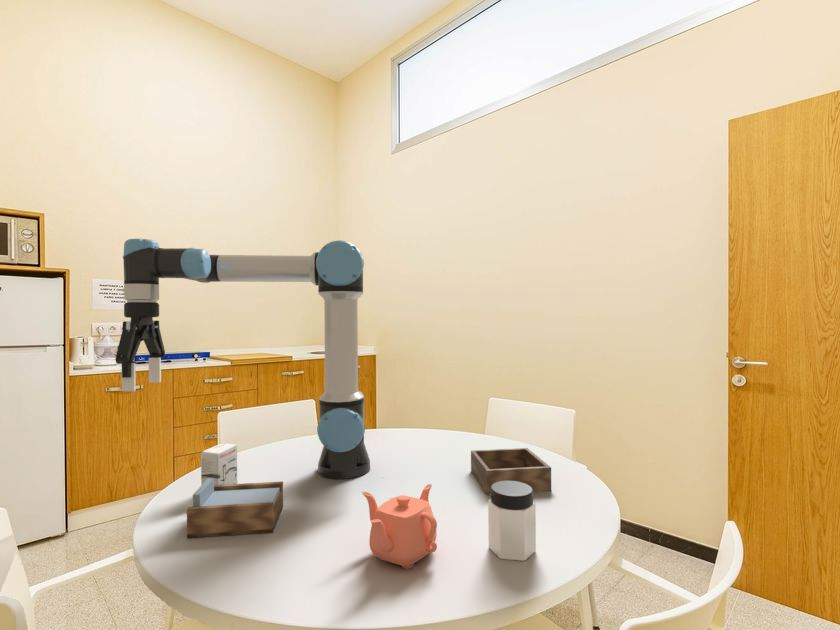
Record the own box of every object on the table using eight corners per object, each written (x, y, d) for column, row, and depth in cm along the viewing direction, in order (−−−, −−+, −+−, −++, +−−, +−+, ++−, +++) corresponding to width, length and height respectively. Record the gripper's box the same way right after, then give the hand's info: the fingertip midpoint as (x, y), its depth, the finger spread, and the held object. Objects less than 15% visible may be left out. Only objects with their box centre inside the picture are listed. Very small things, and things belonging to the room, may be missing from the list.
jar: (504, 534, 94) (504, 476, 94) (541, 547, 89) (541, 486, 89) (481, 551, 87) (481, 489, 87) (519, 567, 82) (519, 500, 82)
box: (283, 506, 108) (283, 481, 108) (272, 532, 95) (272, 504, 95) (208, 511, 106) (208, 485, 106) (187, 538, 93) (186, 509, 93)
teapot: (371, 582, 78) (370, 518, 78) (362, 541, 92) (361, 487, 91) (452, 570, 81) (451, 508, 81) (431, 532, 95) (430, 480, 95)
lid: (279, 492, 107) (279, 474, 106) (271, 510, 97) (271, 491, 97) (208, 496, 104) (208, 478, 104) (192, 515, 95) (192, 495, 95)
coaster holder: (527, 468, 133) (527, 447, 133) (551, 490, 117) (551, 467, 117) (471, 471, 131) (470, 450, 131) (487, 494, 114) (486, 470, 114)
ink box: (218, 501, 112) (217, 453, 112) (200, 499, 113) (199, 452, 113) (238, 487, 120) (238, 443, 120) (221, 486, 121) (221, 442, 121)
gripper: (149, 302, 125) (149, 379, 125) (96, 300, 101) (97, 395, 101) (177, 302, 126) (178, 378, 126) (132, 300, 101) (133, 394, 102)
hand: (142, 386), depth 113 cm, fingers open, 13 cm apart
